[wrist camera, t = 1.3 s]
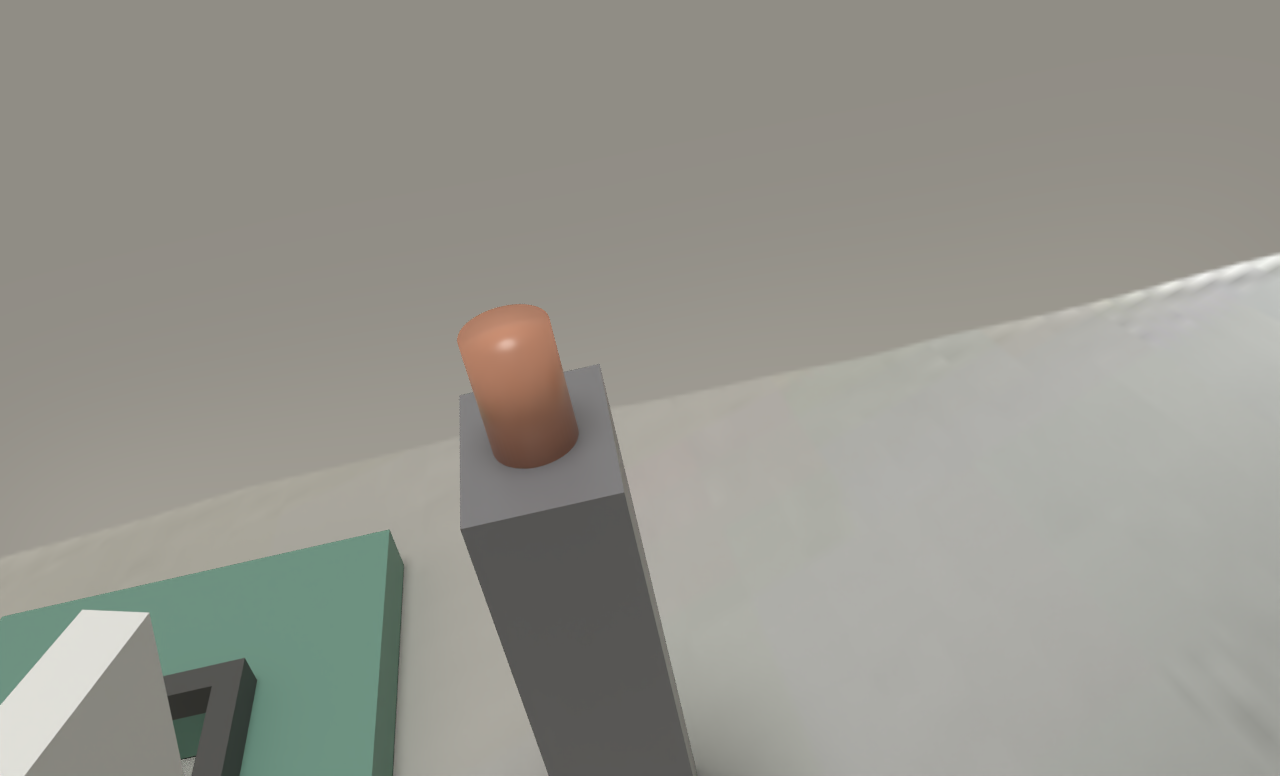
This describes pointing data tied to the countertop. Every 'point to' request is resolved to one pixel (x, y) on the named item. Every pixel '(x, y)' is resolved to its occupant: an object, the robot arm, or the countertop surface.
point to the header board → (263, 658)
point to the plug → (563, 555)
